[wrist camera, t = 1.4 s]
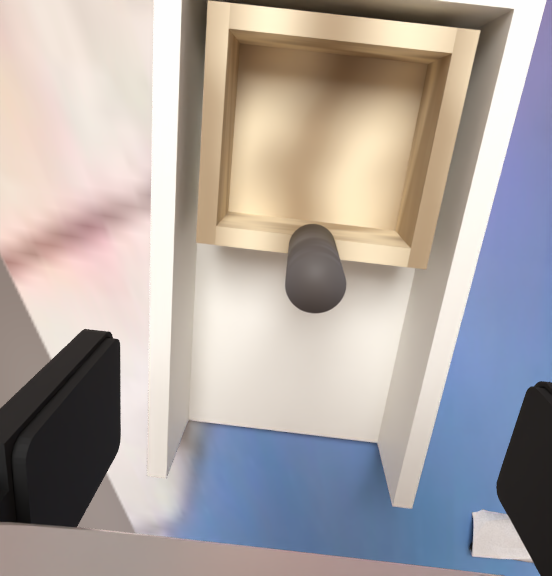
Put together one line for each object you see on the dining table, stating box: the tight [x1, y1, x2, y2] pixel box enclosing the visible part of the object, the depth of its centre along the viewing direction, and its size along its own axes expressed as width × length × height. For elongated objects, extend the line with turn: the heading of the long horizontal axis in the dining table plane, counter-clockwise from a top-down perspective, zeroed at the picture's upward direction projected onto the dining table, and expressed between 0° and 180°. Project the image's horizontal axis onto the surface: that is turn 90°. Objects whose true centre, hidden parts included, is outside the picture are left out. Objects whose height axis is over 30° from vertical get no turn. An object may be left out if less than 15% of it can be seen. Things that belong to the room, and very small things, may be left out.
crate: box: [196, 0, 480, 314], centre depth 22 cm, size 12×12×11 cm
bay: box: [147, 0, 546, 509], centre depth 27 cm, size 16×28×7 cm, turn 174°
